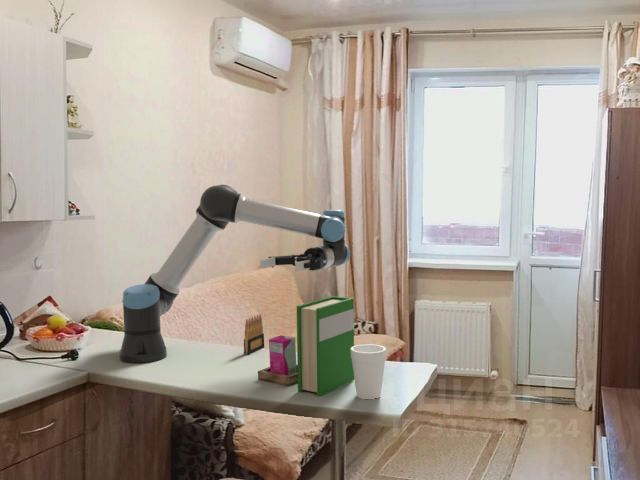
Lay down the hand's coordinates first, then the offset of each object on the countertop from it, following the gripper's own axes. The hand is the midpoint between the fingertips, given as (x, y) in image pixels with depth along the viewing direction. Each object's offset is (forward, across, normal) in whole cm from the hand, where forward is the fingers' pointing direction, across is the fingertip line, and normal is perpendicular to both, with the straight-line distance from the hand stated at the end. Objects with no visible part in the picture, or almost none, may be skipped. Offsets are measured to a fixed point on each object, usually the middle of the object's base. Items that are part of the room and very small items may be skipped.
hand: (278, 265), depth 205 cm
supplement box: (+8, -7, -32) cm, 33 cm away
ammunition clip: (-11, +20, -32) cm, 40 cm away
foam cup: (+9, -37, -32) cm, 50 cm away
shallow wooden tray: (+8, -8, -32) cm, 34 cm away
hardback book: (+7, -22, -32) cm, 40 cm away
